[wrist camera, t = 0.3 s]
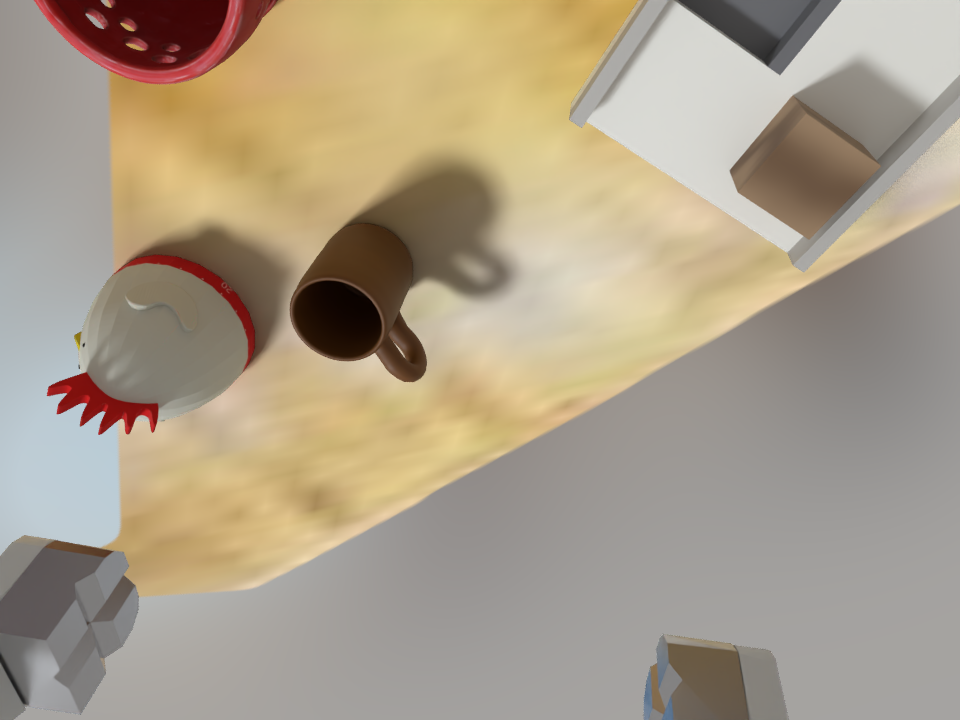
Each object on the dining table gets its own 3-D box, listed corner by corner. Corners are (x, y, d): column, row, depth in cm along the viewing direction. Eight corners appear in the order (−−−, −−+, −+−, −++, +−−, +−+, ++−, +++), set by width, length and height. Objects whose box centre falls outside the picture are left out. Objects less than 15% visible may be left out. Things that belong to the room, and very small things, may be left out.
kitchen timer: (123, 227, 63) (7, 318, 51) (273, 299, 65) (196, 404, 53) (98, 343, 71) (-7, 446, 59) (233, 404, 73) (158, 516, 61)
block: (796, 215, 52) (809, 239, 49) (729, 170, 51) (737, 192, 48) (862, 144, 49) (881, 166, 46) (792, 95, 48) (806, 113, 44)
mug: (470, 304, 62) (451, 368, 55) (409, 350, 66) (383, 416, 58) (367, 201, 58) (331, 254, 51) (308, 255, 62) (266, 313, 54)
